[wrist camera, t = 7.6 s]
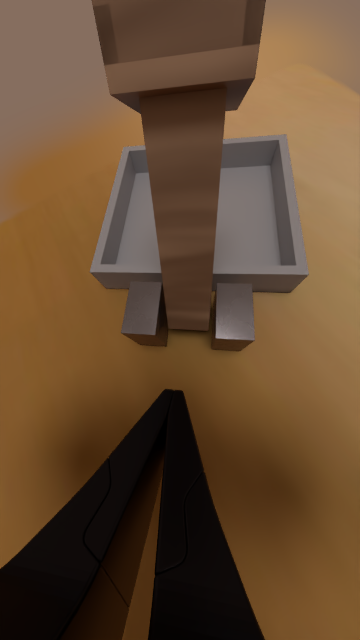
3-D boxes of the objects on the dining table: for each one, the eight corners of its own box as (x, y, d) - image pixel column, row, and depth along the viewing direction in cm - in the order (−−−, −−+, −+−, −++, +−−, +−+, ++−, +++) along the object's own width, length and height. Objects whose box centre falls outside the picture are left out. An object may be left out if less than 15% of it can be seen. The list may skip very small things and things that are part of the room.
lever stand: (240, 351, 15) (254, 340, 11) (140, 345, 17) (120, 332, 12) (239, 307, 17) (252, 283, 13) (146, 304, 18) (130, 281, 14)
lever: (218, 344, 14) (282, -119, 4) (158, 341, 15) (77, -70, 5) (216, 304, 18) (246, 18, 8) (168, 303, 18) (138, 35, 8)
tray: (290, 292, 17) (308, 274, 14) (106, 288, 19) (89, 271, 16) (275, 166, 22) (286, 134, 19) (132, 174, 24) (123, 147, 21)
